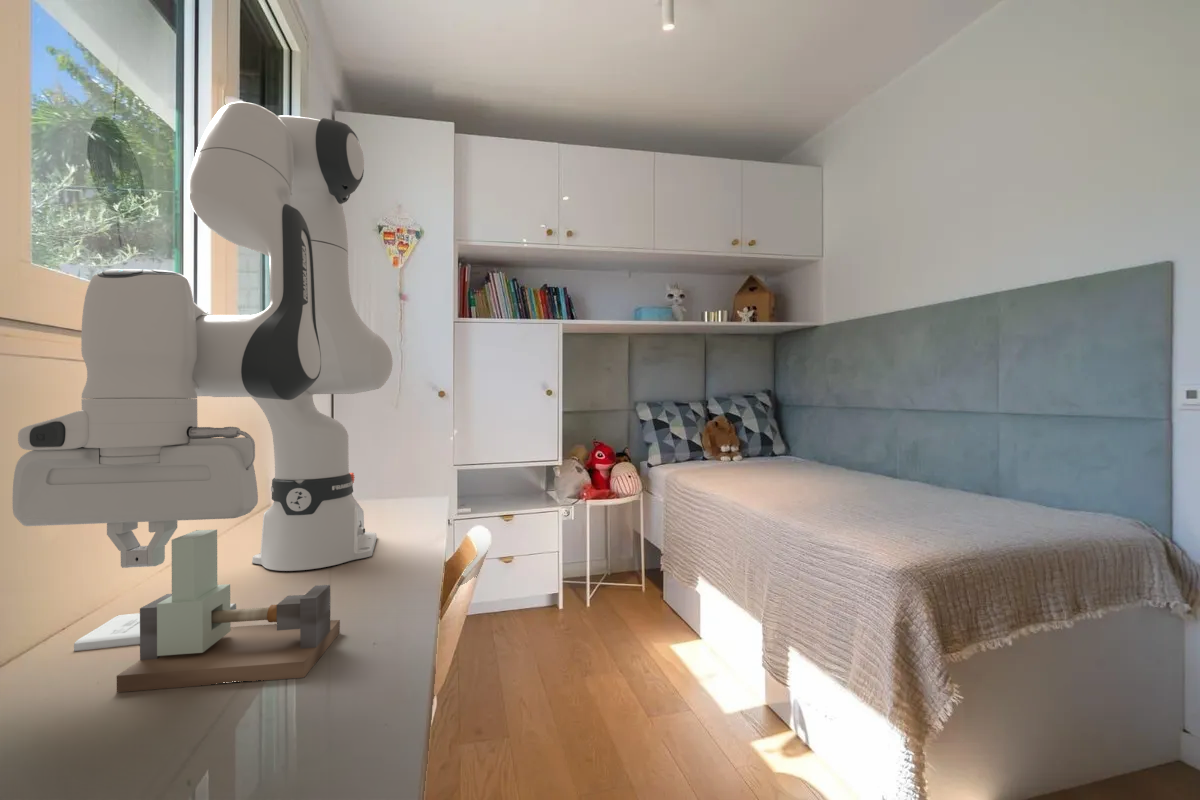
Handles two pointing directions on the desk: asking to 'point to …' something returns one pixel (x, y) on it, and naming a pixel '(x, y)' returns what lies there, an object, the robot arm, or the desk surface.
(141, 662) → the rod rail stand
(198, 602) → the mint green stepped block
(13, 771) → the desk surface
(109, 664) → the desk surface
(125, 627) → the external hard drive
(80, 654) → the desk surface
